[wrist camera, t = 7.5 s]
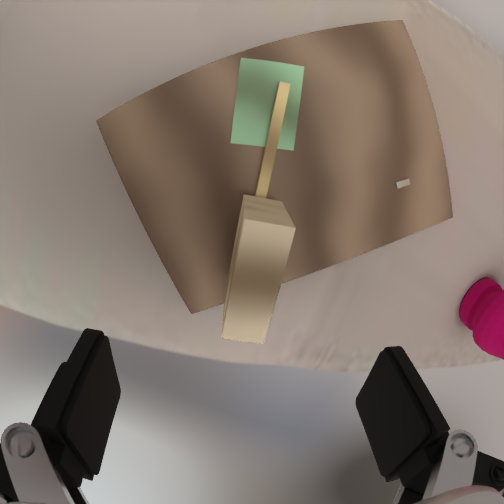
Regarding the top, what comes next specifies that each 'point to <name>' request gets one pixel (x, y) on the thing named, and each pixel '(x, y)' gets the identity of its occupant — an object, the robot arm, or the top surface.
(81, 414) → the robot arm
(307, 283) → the top surface
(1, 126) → the top surface
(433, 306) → the top surface
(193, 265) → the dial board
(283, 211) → the wooden mallet
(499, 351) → the pepper mill
